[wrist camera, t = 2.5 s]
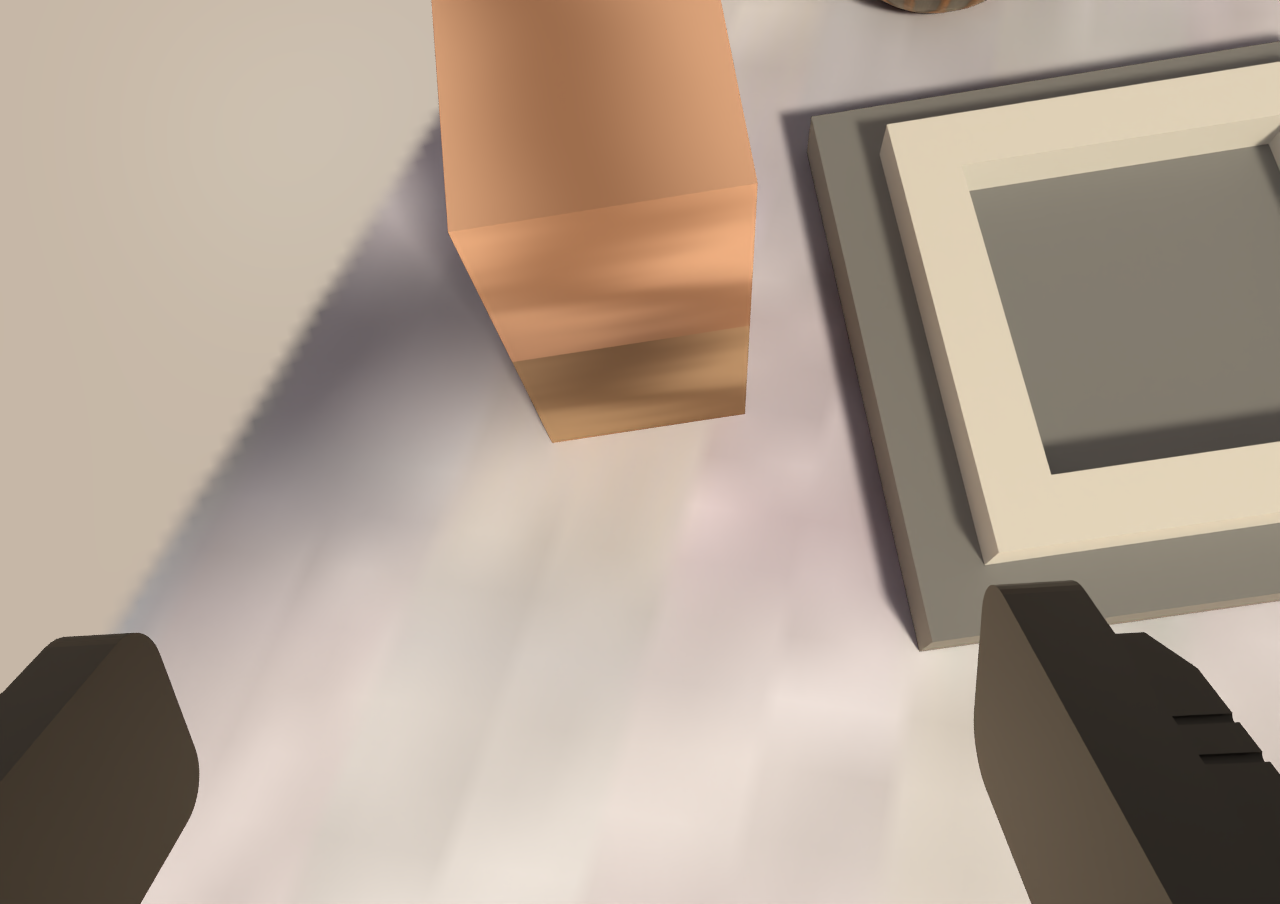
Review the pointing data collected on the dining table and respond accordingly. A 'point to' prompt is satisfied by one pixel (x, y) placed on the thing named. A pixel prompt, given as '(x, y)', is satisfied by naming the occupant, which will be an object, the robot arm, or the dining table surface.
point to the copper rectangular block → (603, 202)
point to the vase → (933, 5)
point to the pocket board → (1069, 333)
